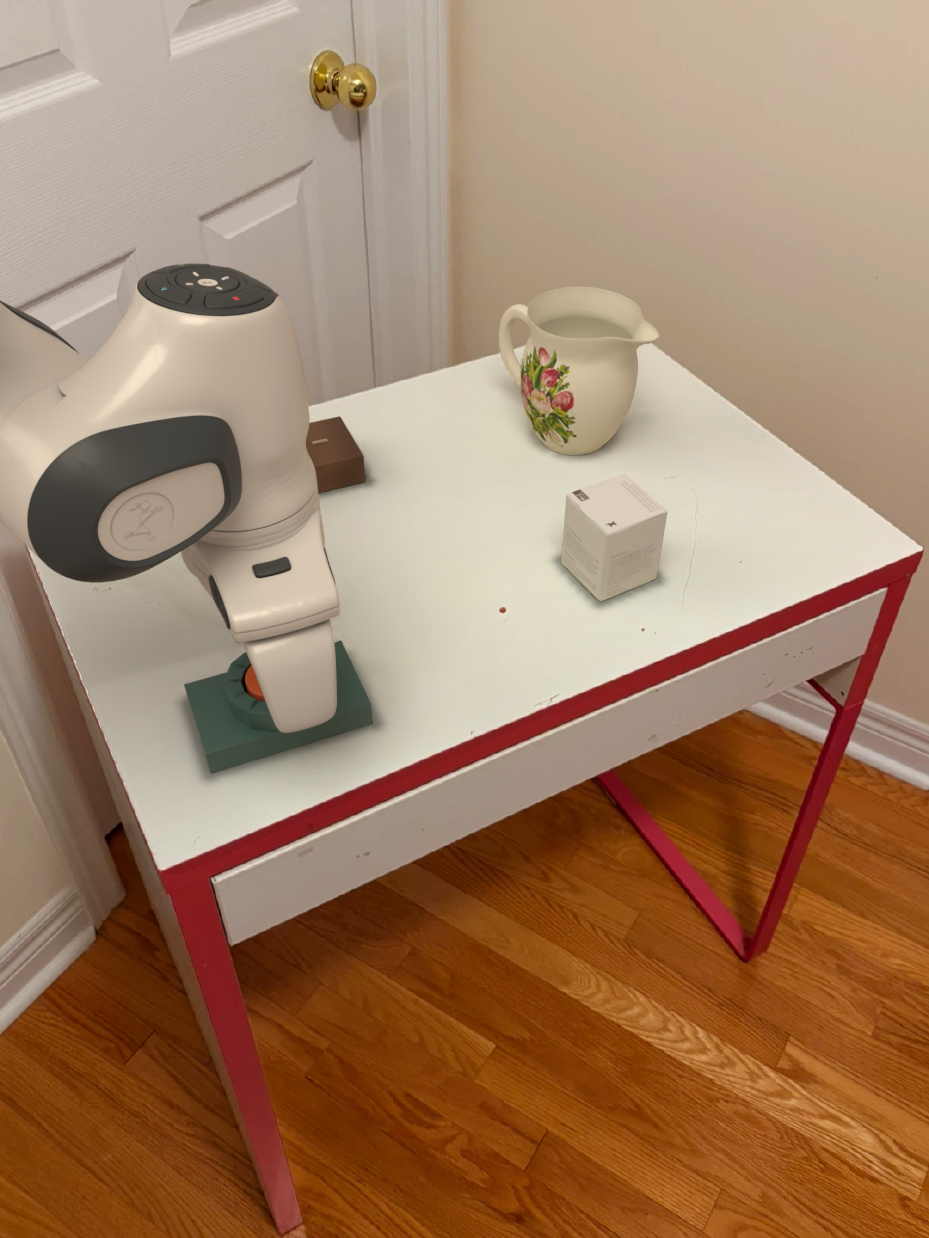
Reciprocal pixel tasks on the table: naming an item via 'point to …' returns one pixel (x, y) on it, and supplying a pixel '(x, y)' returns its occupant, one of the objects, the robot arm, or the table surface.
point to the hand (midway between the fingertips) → (276, 675)
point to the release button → (253, 685)
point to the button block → (265, 715)
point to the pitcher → (576, 364)
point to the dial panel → (334, 455)
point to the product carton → (612, 536)
